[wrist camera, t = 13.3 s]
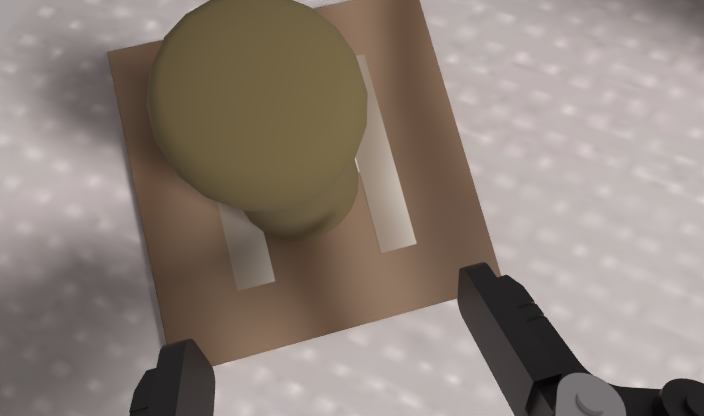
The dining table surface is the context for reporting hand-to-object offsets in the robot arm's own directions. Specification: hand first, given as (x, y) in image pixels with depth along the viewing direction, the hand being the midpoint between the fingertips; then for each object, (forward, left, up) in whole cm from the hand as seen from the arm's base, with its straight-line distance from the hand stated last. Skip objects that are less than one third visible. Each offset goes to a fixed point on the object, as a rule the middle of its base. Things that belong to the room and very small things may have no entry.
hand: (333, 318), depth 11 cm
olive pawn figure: (0, -6, -7) cm, 9 cm away
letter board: (0, -6, -7) cm, 10 cm away
